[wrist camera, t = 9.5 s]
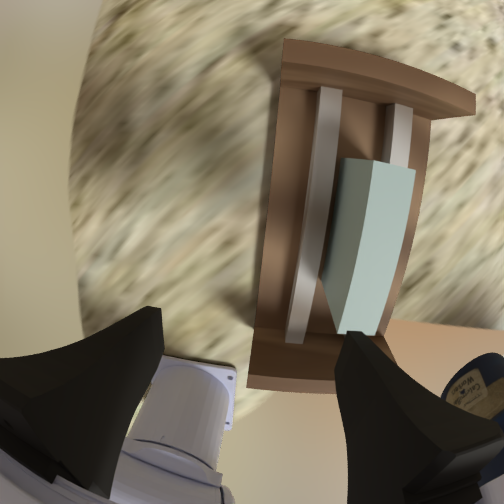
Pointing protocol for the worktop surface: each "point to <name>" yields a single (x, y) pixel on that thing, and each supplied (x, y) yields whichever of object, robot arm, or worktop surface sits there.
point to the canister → (481, 399)
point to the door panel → (365, 241)
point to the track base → (333, 195)
